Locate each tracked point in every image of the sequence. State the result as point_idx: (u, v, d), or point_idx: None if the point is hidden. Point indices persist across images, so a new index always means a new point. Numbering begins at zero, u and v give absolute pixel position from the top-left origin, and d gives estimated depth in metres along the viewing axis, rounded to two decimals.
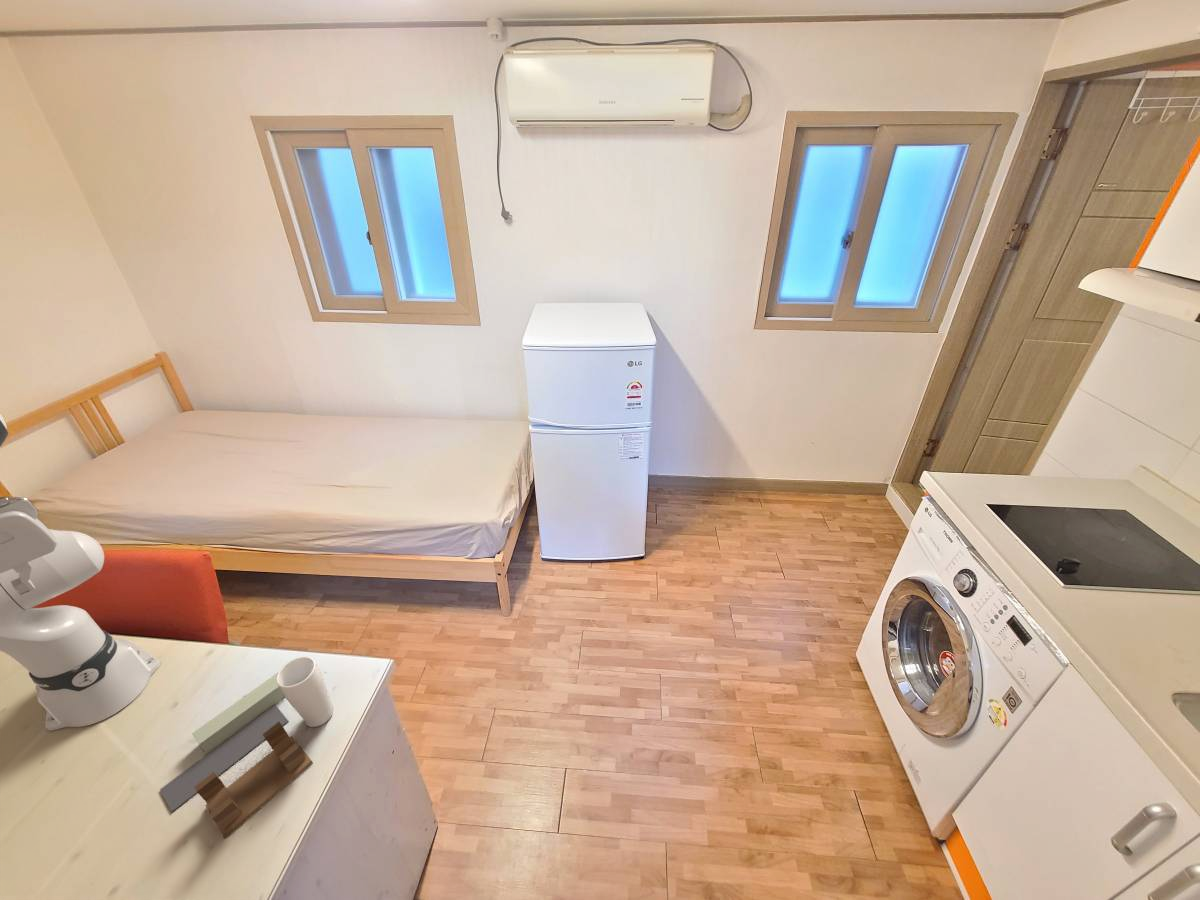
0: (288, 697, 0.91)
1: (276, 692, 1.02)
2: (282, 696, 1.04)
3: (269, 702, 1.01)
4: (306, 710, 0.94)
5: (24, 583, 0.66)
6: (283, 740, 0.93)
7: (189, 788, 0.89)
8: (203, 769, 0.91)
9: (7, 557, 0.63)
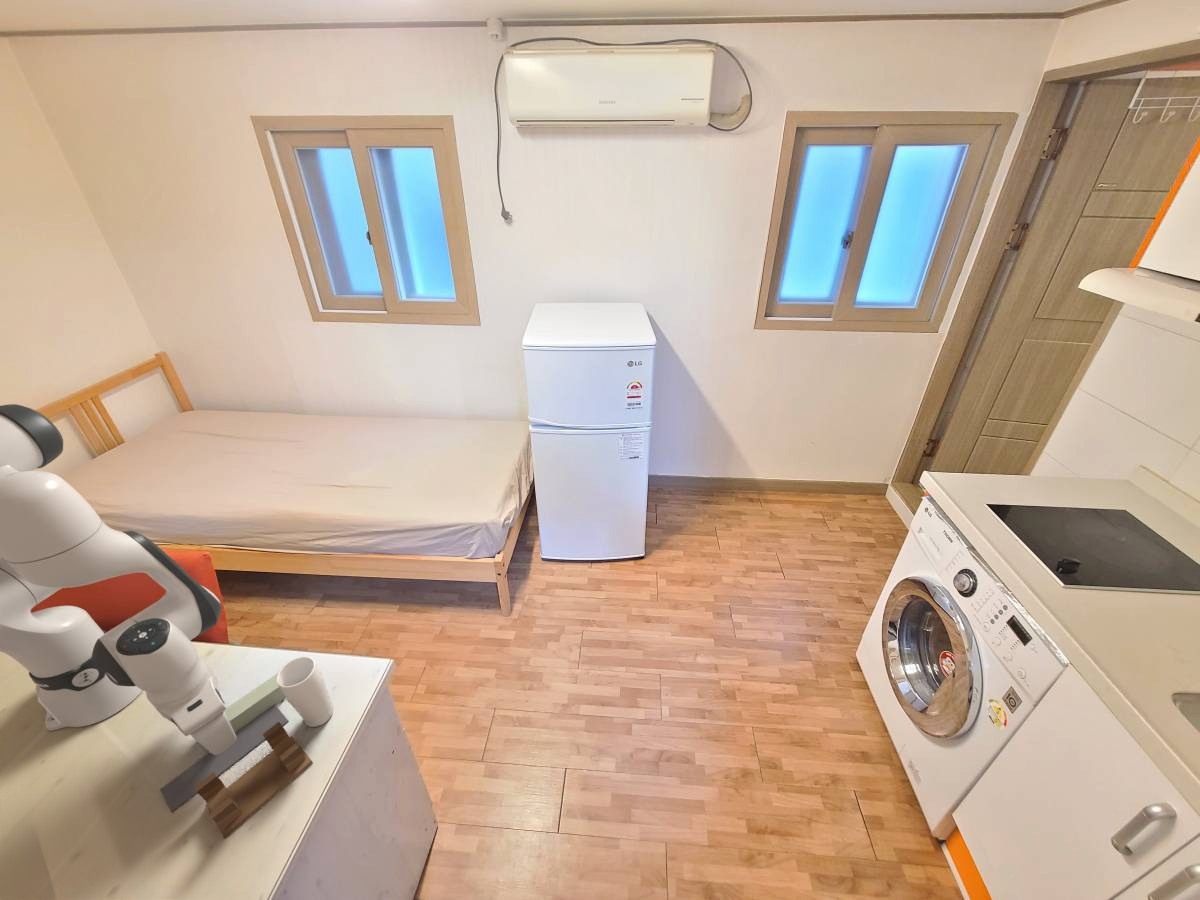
0: (288, 697, 0.91)
1: (276, 692, 1.02)
2: (282, 696, 1.03)
3: (269, 702, 1.01)
4: (306, 710, 0.94)
5: None
6: (283, 740, 0.93)
7: (189, 788, 0.89)
8: (203, 769, 0.91)
9: None
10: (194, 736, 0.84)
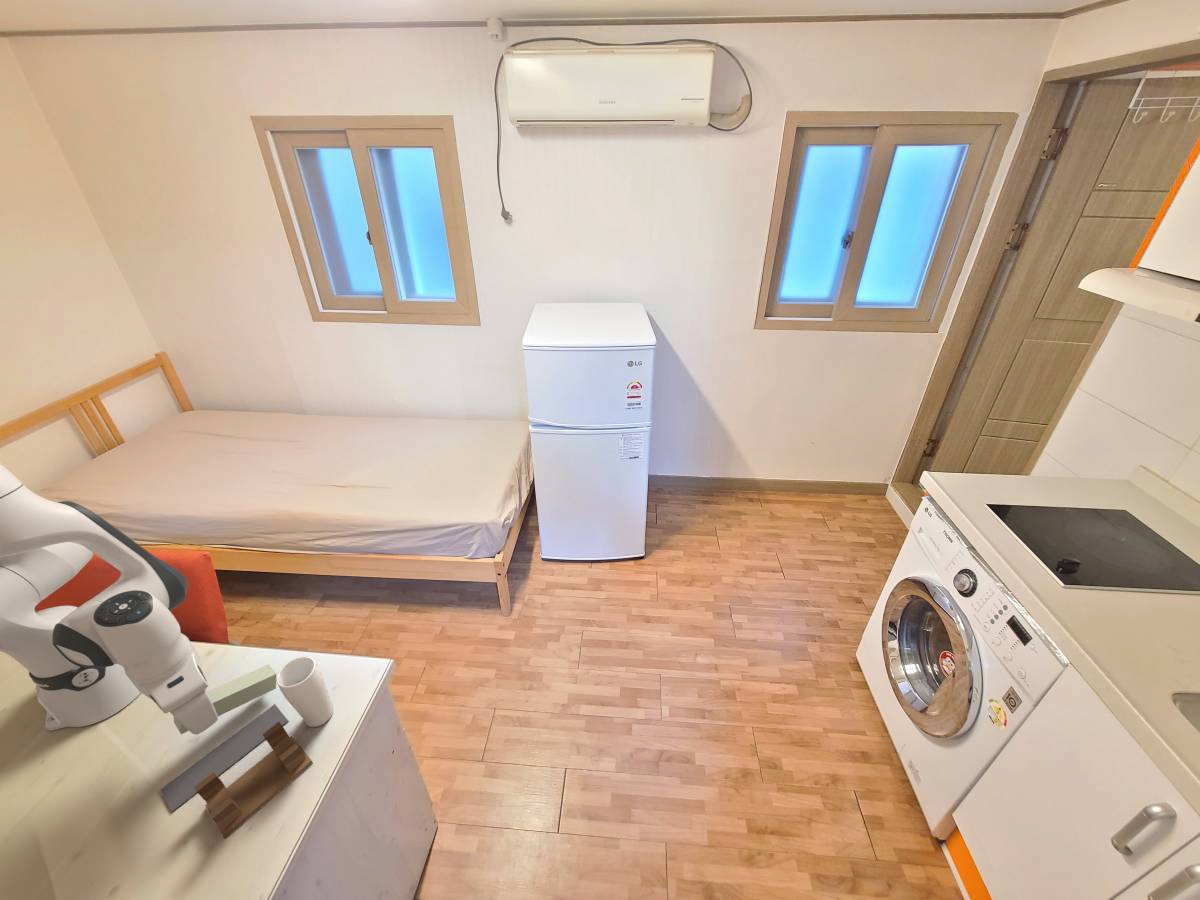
0: (288, 697, 0.91)
1: (264, 683, 1.00)
2: (266, 690, 1.01)
3: (254, 692, 0.99)
4: (306, 710, 0.94)
5: None
6: (283, 740, 0.93)
7: (189, 788, 0.89)
8: (203, 769, 0.91)
9: None
10: (174, 714, 0.81)
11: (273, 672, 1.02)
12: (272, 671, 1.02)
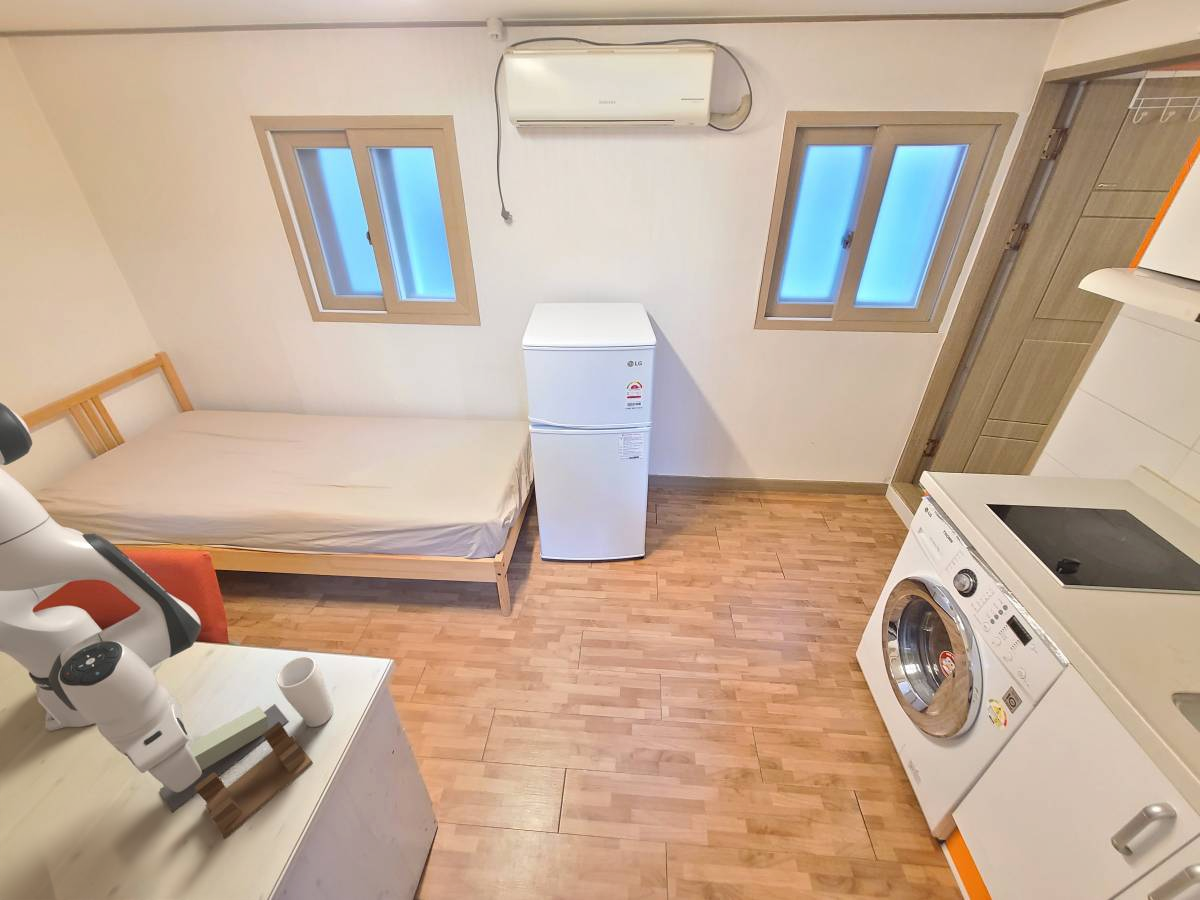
0: (288, 697, 0.91)
1: (254, 727, 0.95)
2: (258, 734, 0.96)
3: (244, 738, 0.94)
4: (306, 710, 0.94)
5: None
6: (283, 740, 0.93)
7: (189, 788, 0.89)
8: (203, 769, 0.91)
9: None
10: (152, 772, 0.75)
11: (263, 714, 0.96)
12: (262, 713, 0.96)
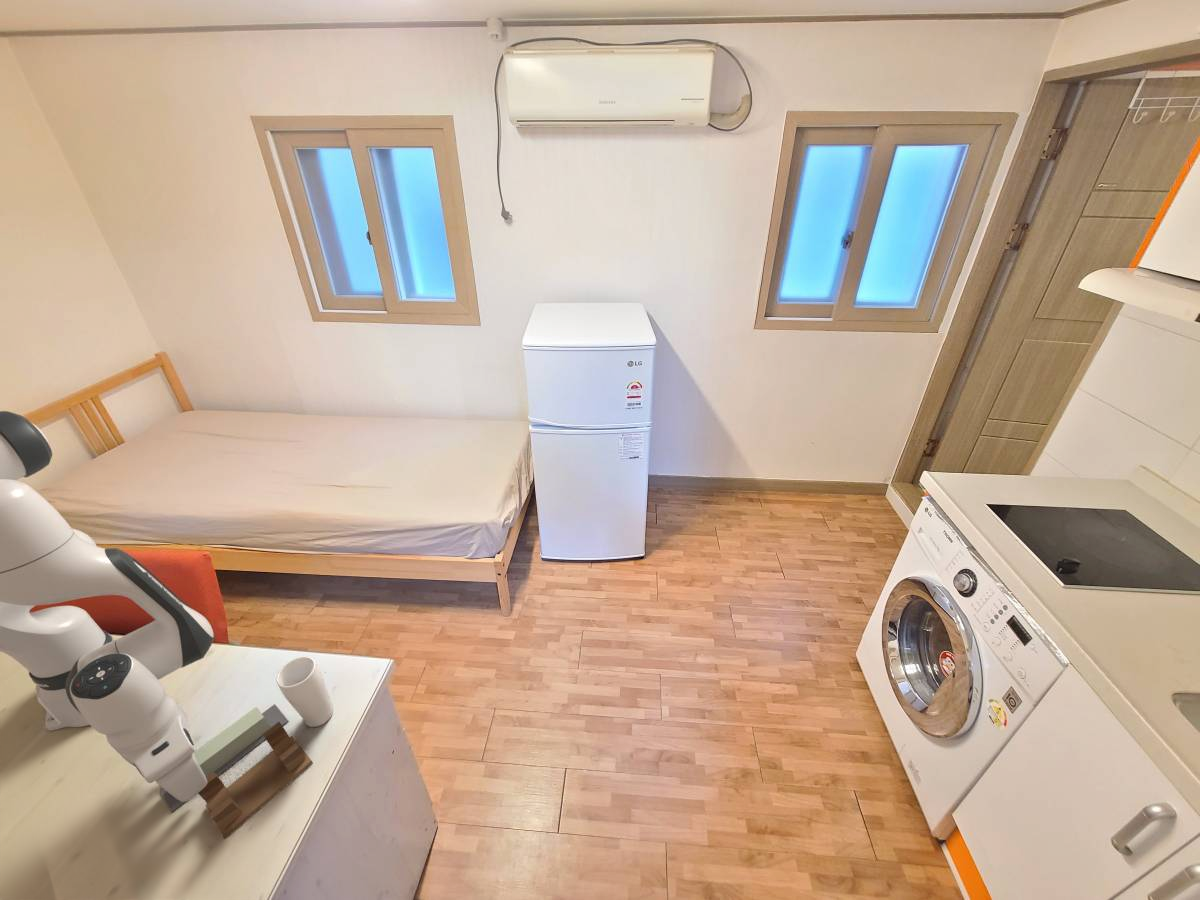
0: (288, 697, 0.91)
1: (253, 729, 0.95)
2: (260, 733, 0.96)
3: (246, 740, 0.94)
4: (306, 710, 0.94)
5: None
6: (283, 740, 0.93)
7: None
8: None
9: None
10: (159, 783, 0.77)
11: (261, 716, 0.96)
12: (260, 715, 0.96)
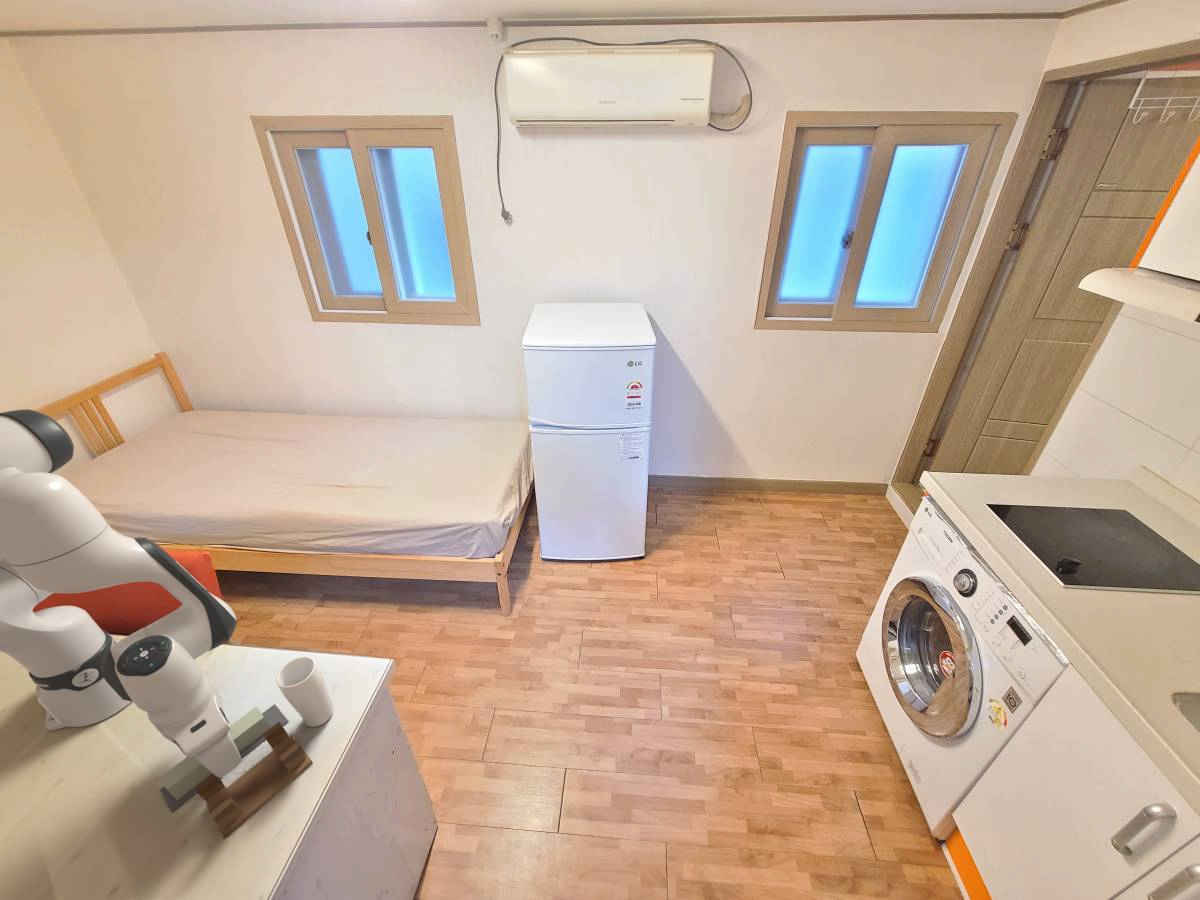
0: (288, 697, 0.91)
1: (253, 729, 0.95)
2: (260, 733, 0.96)
3: (245, 740, 0.94)
4: (306, 710, 0.94)
5: None
6: (283, 740, 0.93)
7: None
8: None
9: None
10: (197, 758, 0.81)
11: (260, 715, 0.96)
12: (259, 714, 0.96)
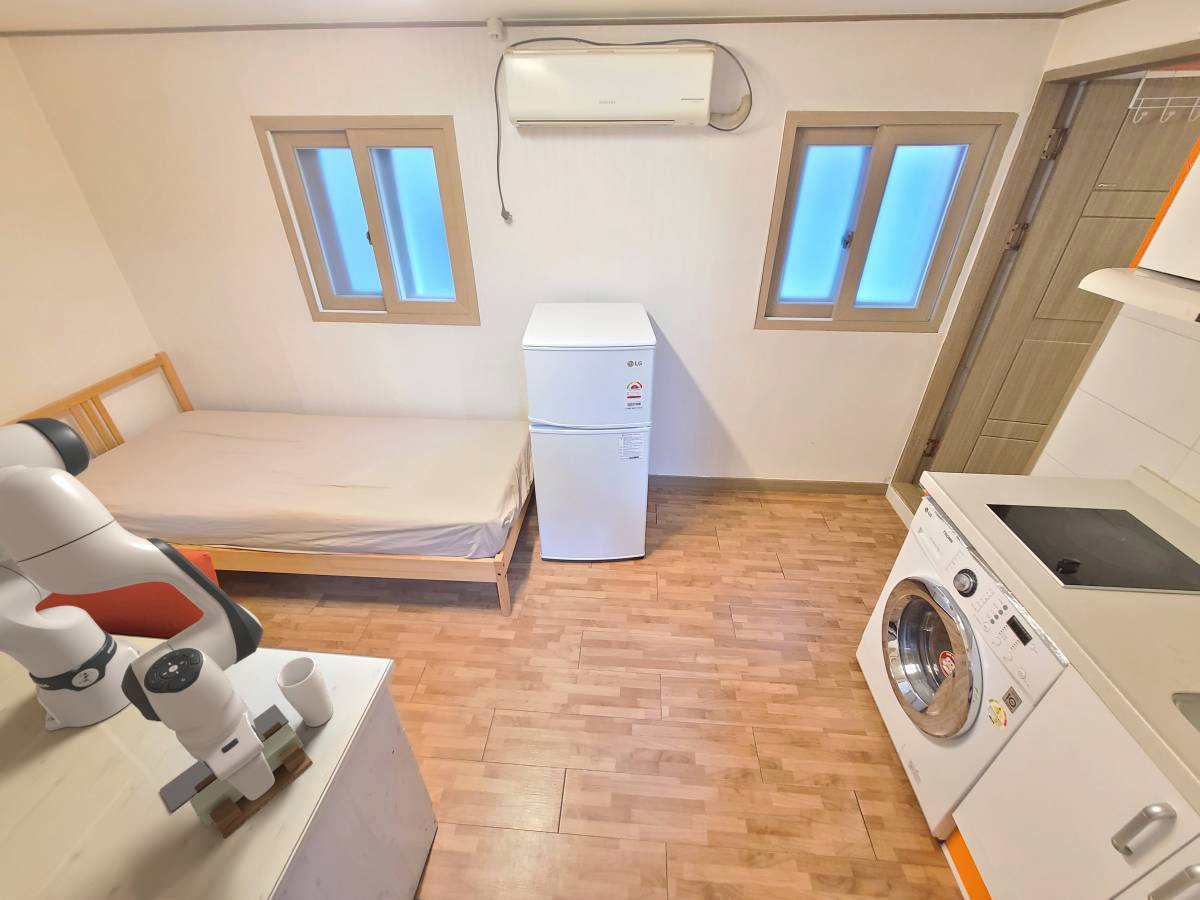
0: (288, 697, 0.91)
1: (285, 747, 0.89)
2: None
3: (278, 759, 0.89)
4: (306, 710, 0.94)
5: None
6: None
7: (189, 788, 0.89)
8: (203, 769, 0.91)
9: None
10: (230, 781, 0.75)
11: (293, 733, 0.91)
12: (292, 732, 0.91)
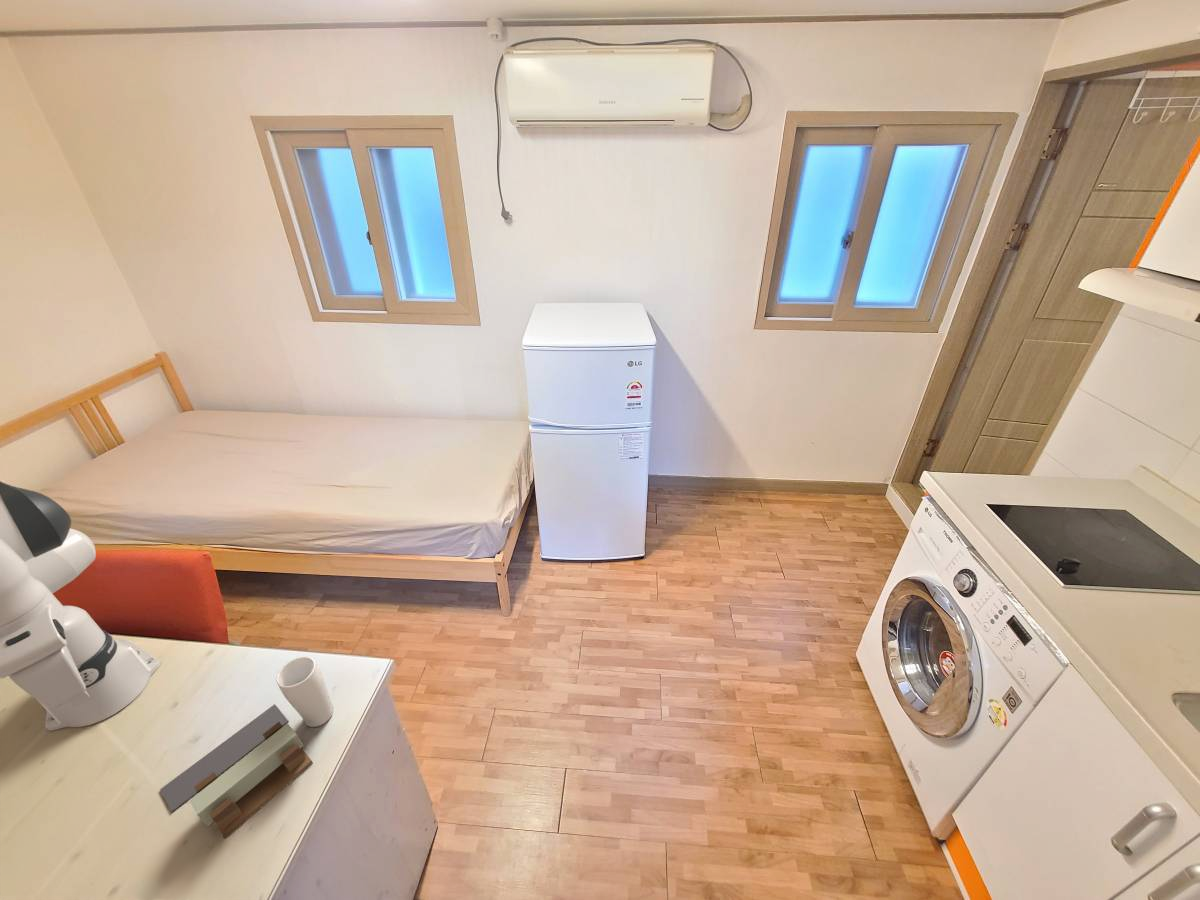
0: (288, 697, 0.91)
1: (285, 747, 0.89)
2: None
3: (278, 759, 0.89)
4: (306, 710, 0.94)
5: None
6: None
7: (189, 788, 0.89)
8: (203, 769, 0.91)
9: None
10: (14, 679, 0.62)
11: (293, 733, 0.91)
12: (292, 732, 0.91)
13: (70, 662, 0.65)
